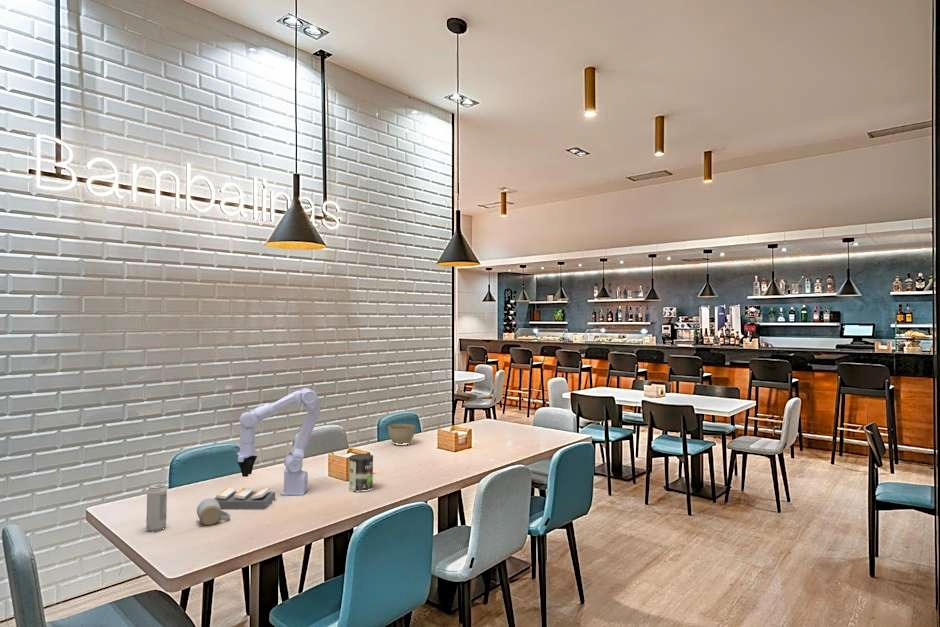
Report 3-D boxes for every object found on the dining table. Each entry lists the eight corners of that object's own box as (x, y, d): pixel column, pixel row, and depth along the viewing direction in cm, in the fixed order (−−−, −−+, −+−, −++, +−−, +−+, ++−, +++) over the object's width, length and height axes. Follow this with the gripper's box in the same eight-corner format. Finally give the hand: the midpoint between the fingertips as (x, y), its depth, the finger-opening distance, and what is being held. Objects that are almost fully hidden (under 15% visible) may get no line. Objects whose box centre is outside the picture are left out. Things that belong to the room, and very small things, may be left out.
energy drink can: (151, 525, 193) (152, 483, 193) (169, 525, 193) (170, 483, 193) (142, 532, 187) (143, 488, 187) (161, 532, 187) (161, 488, 187)
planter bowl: (383, 446, 320) (383, 427, 320) (395, 440, 335) (395, 422, 335) (408, 448, 315) (408, 429, 315) (419, 442, 330) (419, 424, 330)
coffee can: (377, 486, 241) (377, 454, 241) (365, 493, 231) (365, 460, 231) (356, 484, 244) (357, 452, 244) (344, 491, 234) (344, 458, 235)
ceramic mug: (199, 528, 191) (200, 506, 191) (196, 520, 198) (197, 499, 198) (231, 522, 197) (232, 501, 197) (227, 515, 204) (228, 495, 204)
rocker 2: (270, 490, 221) (269, 487, 221) (262, 497, 212) (261, 494, 212) (260, 492, 221) (259, 489, 221) (252, 499, 212) (251, 496, 212)
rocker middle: (252, 492, 221) (253, 489, 221) (243, 499, 212) (244, 496, 212) (242, 490, 221) (243, 487, 221) (233, 497, 212) (234, 494, 212)
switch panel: (275, 499, 223) (275, 491, 223) (264, 509, 211) (264, 501, 211) (223, 499, 222) (223, 491, 222) (209, 509, 210) (209, 501, 210)
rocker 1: (235, 492, 221) (235, 489, 221) (225, 499, 212) (226, 496, 212) (225, 490, 221) (226, 487, 221) (215, 497, 212) (216, 494, 212)
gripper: (244, 438, 231) (243, 470, 231) (230, 446, 216) (229, 480, 216) (261, 438, 231) (260, 470, 231) (248, 446, 217) (247, 480, 216)
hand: (246, 475), depth 224 cm, fingers open, 3 cm apart
